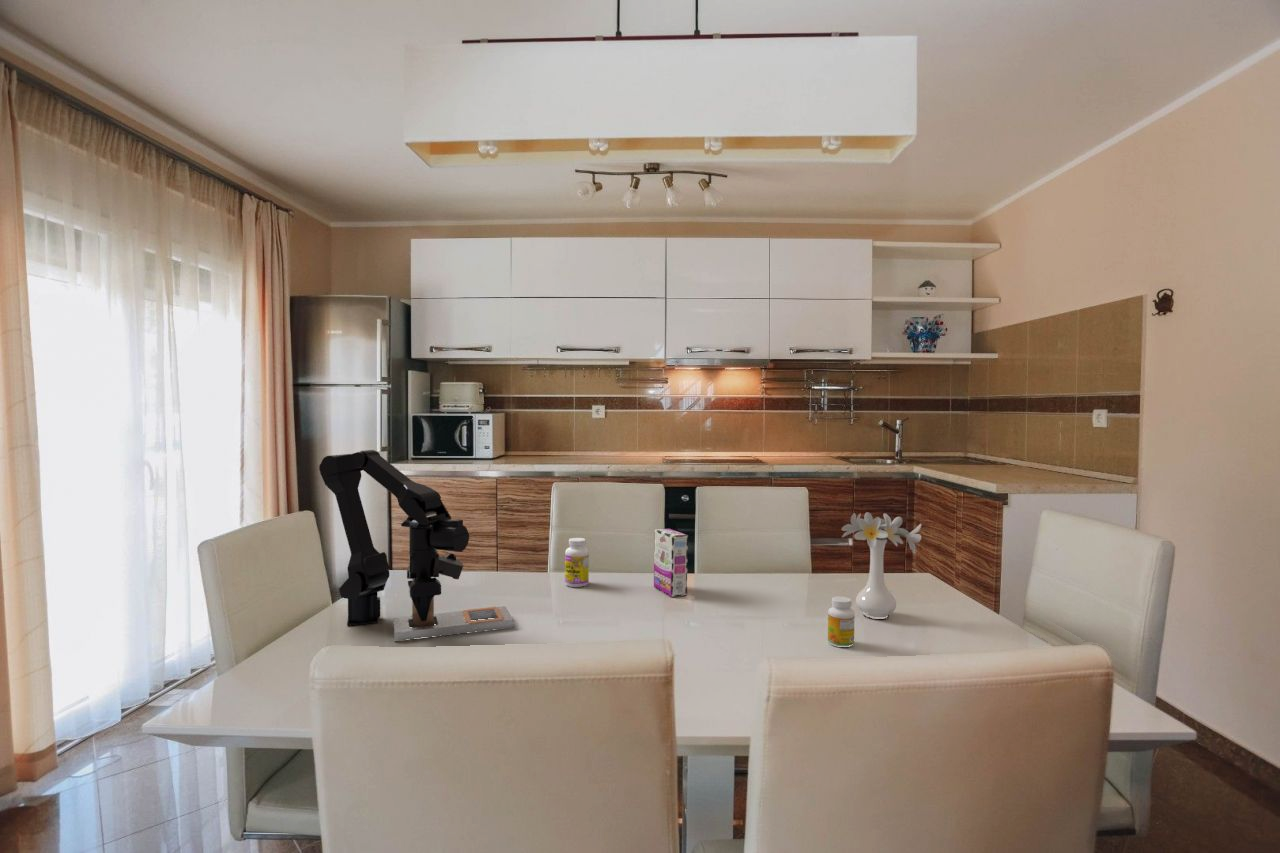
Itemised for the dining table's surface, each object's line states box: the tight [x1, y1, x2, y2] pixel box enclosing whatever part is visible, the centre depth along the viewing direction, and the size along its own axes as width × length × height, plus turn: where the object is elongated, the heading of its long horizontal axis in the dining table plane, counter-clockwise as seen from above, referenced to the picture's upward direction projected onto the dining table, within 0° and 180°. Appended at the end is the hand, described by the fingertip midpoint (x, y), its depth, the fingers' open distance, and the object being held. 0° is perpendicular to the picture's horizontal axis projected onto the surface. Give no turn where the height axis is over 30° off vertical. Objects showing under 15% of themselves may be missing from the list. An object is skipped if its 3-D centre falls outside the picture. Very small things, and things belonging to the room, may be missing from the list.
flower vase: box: [841, 511, 923, 617], centre depth 157 cm, size 13×18×25 cm
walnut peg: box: [411, 596, 435, 628], centre depth 143 cm, size 4×4×9 cm
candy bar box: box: [653, 528, 689, 598], centre depth 176 cm, size 11×5×16 cm, turn 25°
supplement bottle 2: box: [827, 596, 855, 646], centre depth 138 cm, size 5×5×10 cm
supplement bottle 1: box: [564, 537, 590, 588], centre depth 181 cm, size 7×7×13 cm
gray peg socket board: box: [393, 605, 514, 642], centre depth 146 cm, size 25×10×2 cm, turn 112°
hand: (423, 617), depth 143 cm, fingers closed on walnut peg, 4 cm apart
